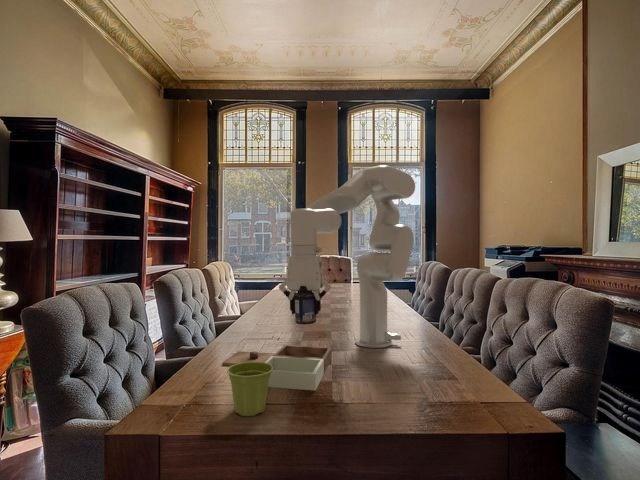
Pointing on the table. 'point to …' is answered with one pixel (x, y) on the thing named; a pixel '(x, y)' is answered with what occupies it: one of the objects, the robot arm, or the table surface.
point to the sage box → (295, 372)
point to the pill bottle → (304, 306)
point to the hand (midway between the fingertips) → (305, 312)
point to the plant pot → (249, 386)
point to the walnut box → (306, 353)
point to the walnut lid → (247, 358)
